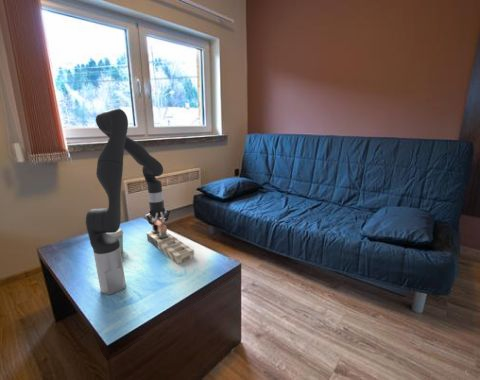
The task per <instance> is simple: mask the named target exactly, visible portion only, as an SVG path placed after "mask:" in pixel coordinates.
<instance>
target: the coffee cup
mask: <svg viewBox="0 0 480 380" xmlns="http://www.w3.org/2000/svg"><path fill="white" fill-rule="evenodd" d="M106 234H108V235H110V236H113V237H116V238H118V240H119V243H120V249H121V252H122V253H123V251H124V236H123V234H124V231H123V229H122V228H121V227H119V229H118V231H116V232H112V233H106Z"/></svg>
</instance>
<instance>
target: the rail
mask: <svg viewBox="0 0 480 380" xmlns="http://www.w3.org/2000/svg"><path fill="white" fill-rule="evenodd" d="M166 232H167V238H165V239H162V240H161V239H160V235H159V233H158V234H153V230H151V231H148V232H146V240H147V241H148V242H149V243H150V244H151V245H154V246H155V247H156V248H157V249H159V250H160V251H161V252H162V253H163V254H165V256H167V257H168V258H169V259H171V260H172V261H173V262H174V263H175V264H177V265H179V264H182V263H185V262H186V261H189V260H192V259H194V258H195V251H194V249H193V248H191V246H188V245H187V244H186V243H184V242H183V241H181V240H180V239H178V238H177V237H175V236H174V235H172V234H170V233H169V232H168V231H166Z"/></svg>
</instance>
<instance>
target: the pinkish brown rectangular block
mask: <svg viewBox="0 0 480 380" xmlns="http://www.w3.org/2000/svg"><path fill="white" fill-rule="evenodd" d="M156 226H157V231H155V230H153V225H151V227H152V231H153V234H158V233H159V235H160V239H161V240H162V239H165V238H167V232H168V228H167V224H164V223H162V222H161V220H160V219H157V221H156Z"/></svg>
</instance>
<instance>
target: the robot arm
mask: <svg viewBox="0 0 480 380" xmlns="http://www.w3.org/2000/svg"><path fill="white" fill-rule="evenodd" d="M95 123H96V125H97V127H98V129H99V130H100V131H101V132H102V133H103V134H104V135H106V136H107V137H108V141H107V142H106V144H105V145H104V147H103V149H102V150H101V152H100V154H99V156H98V158H97V161H96V163H97V164H96V173H95V174H96V178H97V180H98V182H99V183H100V185H101V187H102V188H103V189H104V191H105V193H106V195H107V199H108V207H107V208H106V207H105V208H104V207H103V208H91V209H89V210H88V211H87V213H86V215H85V216H86V217H85V225H86V230H87V231H86V232H87V234H88V239H89V243H90V245H91V248H92V250H93V256H94V261H95V267H96V273H97V279H98V283H99V289H100V293H102V294H105V295H108V296H110V295H112V294H115V293H117V292H120V291H123V290H125V289H126V288H125V286H126V278H125V277H126V276H125V271H124V264H123V258H122V253H121V249H120V243H119V240H118V238H116V237H113V236H110V235H108V234H106V233H112V232H116V231H118V229H119V228H121V227H120V226H121V221H122V220H121V219H122V215H121V213H122V210H121V209H122V208H121V207H122V205H121V200H122V199H121V196H122V195H121V192H122V191H121V190H122V180H123V172H124V171H123V170H124V153H125V151H126V152H127V154H129V156H131V157H132V159H133V160H134V161H135V162H136V163H138V164H139V165H140V166H142V175H143V177H144V180H145V182H146V185H147V191H148V194H147V195H148V196H147V197H148V206H149V207H148V208H149V212H148V214H144V217H145V219H146V220H147V223H148V224H149V225H151V226H152V225H153V228H152V231H153V230H155V231H157V226H156V221H157V220H158V219H159V221H161V222H162V223H164V224H165V222H167V221H168V220H169V216H170V214H171V213H170V212H171V210H170V209H167V208H165V199H164V194H163V193H164V192H163V188H162V181H161V180H159V179H157V177H160V176H162V175H163V173H164V167H163V165H162V164H161V162H159V160H158V159H156V158H155V157H154V156H152V155H151V154H150V153H149V152H148V151H147V150H146V148H145V147H144V146H143V145H142V144H141V143H139V142H137V141H136V140H134V139H131V138H130V137H128V136H127V133H128V127H129V120H128V116H127V114H126V112H125V111H124V110H123V109H121V108H112V109H110V110H109V109H108V110H105V111H102V112H100V113H98V114H97V115H96V117H95ZM151 217H152V218H151ZM165 225H166V224H165Z"/></svg>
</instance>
